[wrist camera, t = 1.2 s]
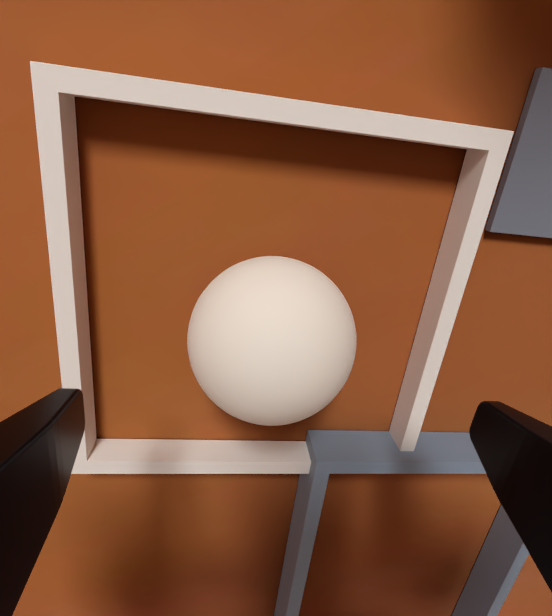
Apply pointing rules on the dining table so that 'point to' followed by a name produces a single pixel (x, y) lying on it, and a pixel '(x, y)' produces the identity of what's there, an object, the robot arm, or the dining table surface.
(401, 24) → the dining table surface
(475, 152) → the frame
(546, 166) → the card
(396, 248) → the dining table surface
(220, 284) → the ball cream
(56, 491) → the robot arm
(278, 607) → the frame
